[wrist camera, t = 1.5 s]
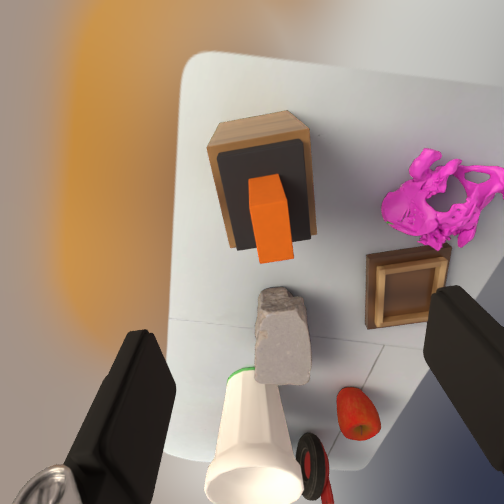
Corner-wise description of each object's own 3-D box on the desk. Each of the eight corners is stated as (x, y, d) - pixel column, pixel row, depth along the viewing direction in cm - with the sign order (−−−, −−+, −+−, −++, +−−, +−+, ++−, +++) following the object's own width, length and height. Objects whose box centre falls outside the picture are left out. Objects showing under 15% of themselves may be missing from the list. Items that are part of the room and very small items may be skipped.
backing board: (366, 254, 39) (372, 263, 37) (446, 242, 39) (457, 250, 37) (364, 323, 45) (370, 334, 43) (434, 314, 45) (443, 325, 43)
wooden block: (219, 122, 31) (206, 146, 21) (288, 110, 31) (309, 128, 20) (234, 197, 35) (230, 248, 25) (295, 186, 35) (317, 234, 24)
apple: (365, 375, 51) (383, 419, 44) (369, 398, 54) (385, 442, 47) (327, 383, 52) (339, 427, 45) (333, 404, 55) (345, 449, 48)
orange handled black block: (217, 152, 21) (207, 181, 15) (299, 137, 21) (320, 161, 15) (237, 241, 24) (235, 291, 19) (307, 230, 24) (326, 278, 18)
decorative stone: (266, 361, 49) (327, 344, 47) (267, 401, 43) (336, 384, 41) (226, 293, 42) (294, 270, 40) (220, 329, 36) (300, 304, 34)
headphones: (224, 441, 60) (216, 591, 43) (236, 411, 55) (231, 565, 38) (310, 452, 62) (334, 597, 45) (327, 423, 57) (363, 574, 40)
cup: (286, 406, 55) (299, 513, 41) (215, 406, 54) (206, 514, 41) (292, 358, 49) (310, 464, 35) (213, 357, 48) (201, 465, 35)
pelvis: (368, 222, 37) (391, 249, 31) (402, 140, 32) (436, 154, 27) (458, 238, 38) (496, 267, 33) (504, 162, 34) (557, 179, 28)
